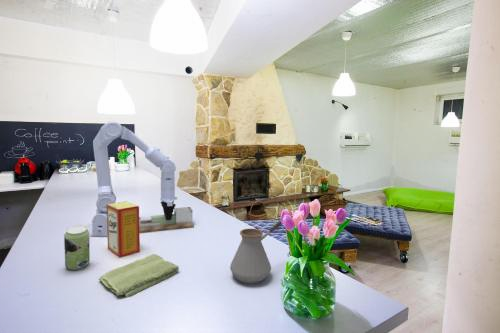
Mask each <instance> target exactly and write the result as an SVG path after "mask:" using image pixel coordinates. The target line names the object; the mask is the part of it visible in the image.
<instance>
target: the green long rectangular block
mask: <svg viewBox="0 0 500 333" xmlns="http://www.w3.org/2000/svg"><path fill="white" fill-rule="evenodd" d="M150 217H151V218H150V220H151V221H152V223H159V222H160V225H167V224H176V214H174V213H173V214H172V219H171V220H166V218H165V215H164V214H159V215H151V216H150Z"/></svg>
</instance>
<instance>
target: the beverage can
mask: <svg viewBox="0 0 500 333" xmlns="http://www.w3.org/2000/svg"><path fill="white" fill-rule="evenodd" d="M63 236H64V237H63V239H64V241H63V242H64V243H63V244H64V266H65V268H66V269H69V270H72V271H73V270H75V271H76V270H81V269H83V268H84V267H87V265H89V264H90V258H91V256H90V255H91V254H90V230H89V229H88V228H87V226H85V225H73V226H71V227H68V228H67V229H66V231H65V233H64V235H63Z"/></svg>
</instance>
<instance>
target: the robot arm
mask: <svg viewBox="0 0 500 333" xmlns="http://www.w3.org/2000/svg"><path fill="white" fill-rule="evenodd" d="M118 138H120V139H122V140H125V141H129V142H130V143H132V145H134V146H136V147H137V148H138V149H139V150H141V151H142V152H143V153H144V156H145V159H147V161H149V162H150V163H151V164H153V165H154V166H155V167H156V168H159V169H160V171H161V173H160V175H161V176H160V205H161V206H162V210H163V215H165V218H166V220H171V219H172V214H174V208H176V206H177V205H176V203H175V200H178V196H176V195H175V194H176V193H175V192H176V189H175V188H176V186H175V185H176V184H175V181H176V180H175V172H176V169H177V167H176V165H175V163H174V162H173V161H172V160H170V157H169V156H166V155H165V154H164V153H163V152H161V149H160V148H158V147H157V148H156V147H151V146H149V145H148V144H147V143H146V142H144V140H142V139H141V138H140V137H139V136H138V135H137V134H135V133H134V132H133V131H132V130H130V129H128V128H127V127H125V126H124V125H121V123H119V122H118V121H115V120H109V121H107V122H106V123H105V124H103V125H102V126H101V127H100V129H99V131H98V132H97V134H96V136H95V137H94V139H93V141H92V145H93V146H92V148H93V156H94V163H95V172H96V181H97V182H96V183H97V196H98V197H97V200H96V202H95V205H96V214H95V215H94V216H93V218H92V219H91V226H92V233H91V234H89V237H108V234H107V204H112V203H117V202H116V201H117V196H116V194H115V193H114V191H113V185H112V179H111V177H112V176H111V170H110V160H109V151H108V150H109V149H108V146H109V145H110V144H111V143H112V142H113V141H114V140H116V139H118Z"/></svg>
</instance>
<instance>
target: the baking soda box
mask: <svg viewBox="0 0 500 333" xmlns="http://www.w3.org/2000/svg"><path fill="white" fill-rule="evenodd" d="M139 217H140V205H137V204H134V203H132V202H130V201H127V200H126V201H120V202H115V203H112V204H107V234H108V236H107V250H108V251H110V252H111V253H112V254H113V255H115V256H117V258H119V259H122V258H123V257H127V256H130V255H131V256H132V255H135V254H137V253H140V251H141V246H140V237H141V236H140V233H139Z"/></svg>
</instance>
